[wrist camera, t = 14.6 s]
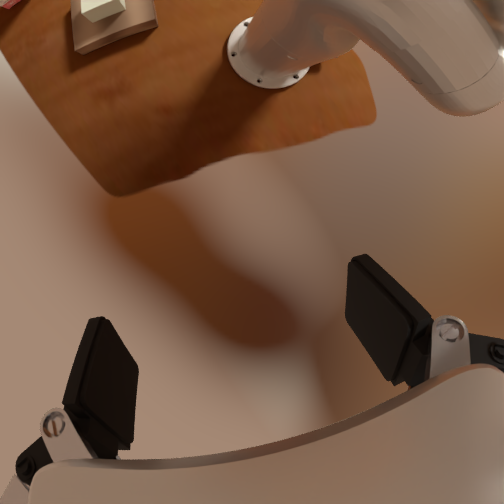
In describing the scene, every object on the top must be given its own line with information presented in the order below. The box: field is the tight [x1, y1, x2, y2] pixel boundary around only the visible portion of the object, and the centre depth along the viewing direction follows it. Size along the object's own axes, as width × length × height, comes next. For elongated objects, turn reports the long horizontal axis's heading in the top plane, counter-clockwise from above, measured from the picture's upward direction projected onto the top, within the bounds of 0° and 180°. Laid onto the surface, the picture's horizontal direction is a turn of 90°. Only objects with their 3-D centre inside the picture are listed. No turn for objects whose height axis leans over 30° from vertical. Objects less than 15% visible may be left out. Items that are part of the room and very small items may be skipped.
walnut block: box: [71, 0, 158, 55], centre depth 22 cm, size 12×12×4 cm
